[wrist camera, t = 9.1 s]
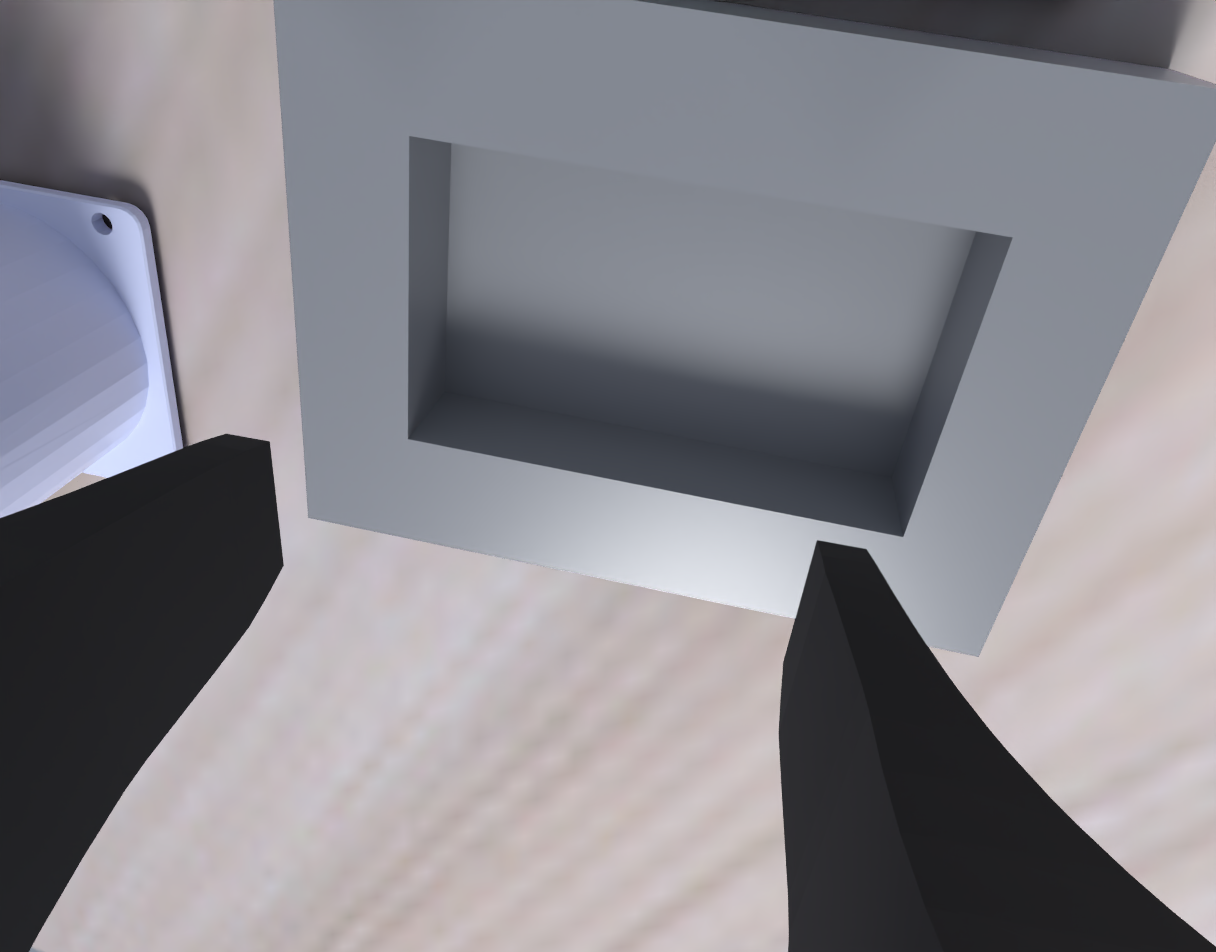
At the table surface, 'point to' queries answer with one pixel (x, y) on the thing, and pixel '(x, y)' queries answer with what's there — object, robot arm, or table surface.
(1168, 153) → the pocket plate
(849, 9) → the table surface
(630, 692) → the table surface
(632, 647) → the table surface
